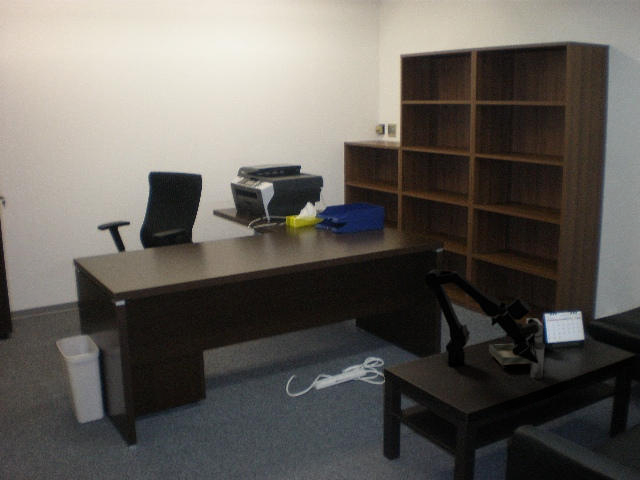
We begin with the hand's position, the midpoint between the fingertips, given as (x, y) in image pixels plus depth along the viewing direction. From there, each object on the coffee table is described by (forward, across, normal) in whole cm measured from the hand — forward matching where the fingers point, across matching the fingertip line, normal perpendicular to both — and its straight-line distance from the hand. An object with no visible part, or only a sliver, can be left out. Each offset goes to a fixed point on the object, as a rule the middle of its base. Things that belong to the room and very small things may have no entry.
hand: (539, 358), depth 248 cm
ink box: (+1, +30, +9) cm, 31 cm away
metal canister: (+5, 0, +6) cm, 7 cm away
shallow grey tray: (-3, +10, +13) cm, 17 cm away
